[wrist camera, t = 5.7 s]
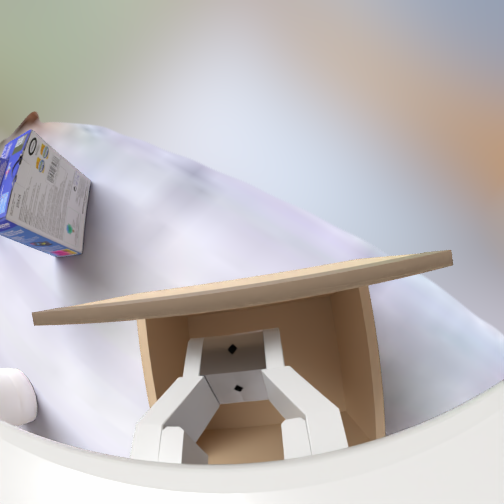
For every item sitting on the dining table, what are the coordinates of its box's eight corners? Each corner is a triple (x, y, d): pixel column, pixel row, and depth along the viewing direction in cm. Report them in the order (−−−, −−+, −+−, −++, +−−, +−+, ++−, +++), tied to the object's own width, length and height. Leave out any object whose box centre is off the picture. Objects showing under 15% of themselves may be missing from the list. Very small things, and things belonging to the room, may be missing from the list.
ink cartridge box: (62, 188, 31) (-8, 133, 17) (92, 178, 30) (21, 112, 16) (52, 259, 28) (-37, 221, 14) (83, 254, 28) (-12, 208, 14)
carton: (354, 452, 20) (385, 500, 11) (210, 471, 21) (182, 523, 12) (334, 288, 25) (366, 267, 15) (182, 311, 25) (134, 303, 16)
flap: (453, 265, 6) (451, 249, 6) (34, 325, 7) (31, 312, 7) (359, 266, 15) (357, 258, 15) (139, 299, 16) (138, 292, 16)
